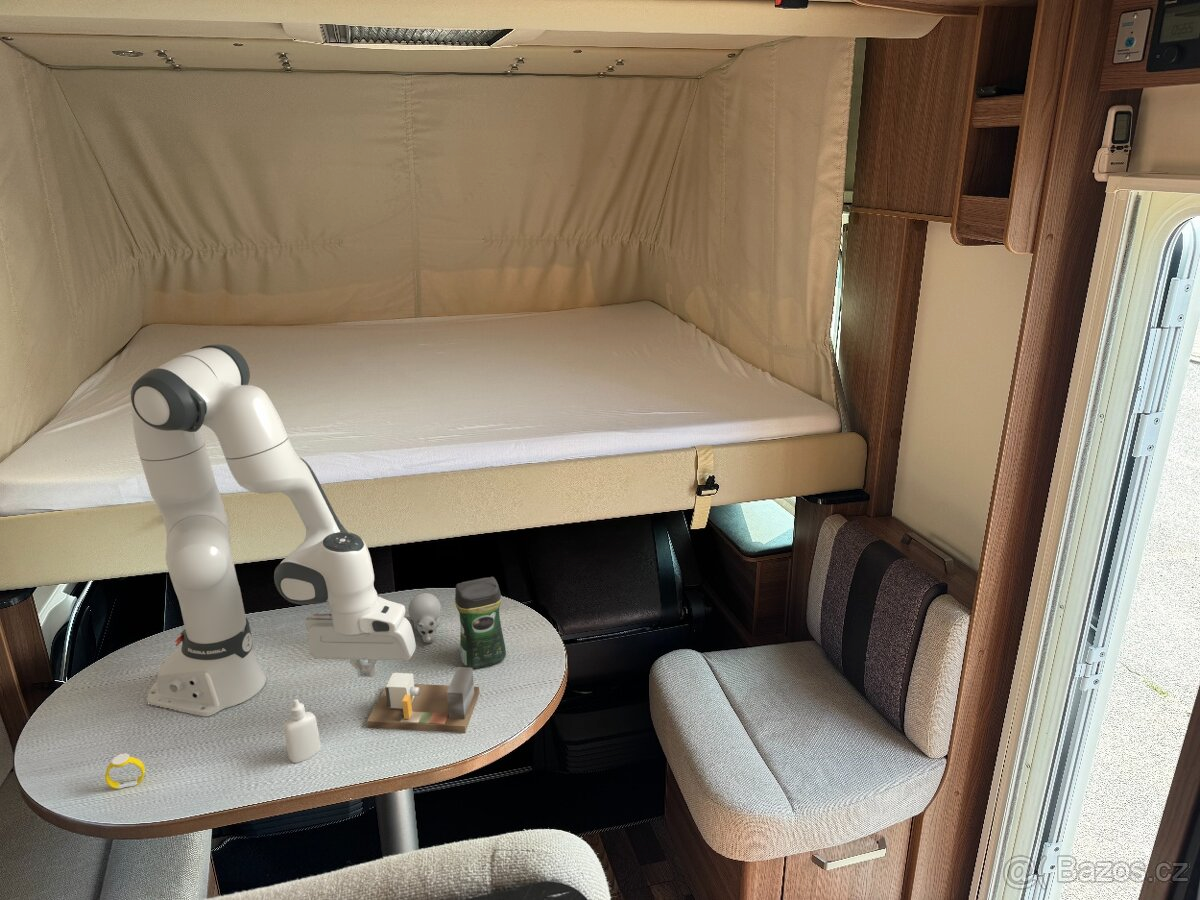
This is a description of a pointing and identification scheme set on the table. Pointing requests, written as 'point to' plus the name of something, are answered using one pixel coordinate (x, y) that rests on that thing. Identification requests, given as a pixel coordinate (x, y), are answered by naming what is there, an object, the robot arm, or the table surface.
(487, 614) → the coffee jar
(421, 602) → the round bodied animal figurine
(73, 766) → the table surface
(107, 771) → the watch
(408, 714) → the block
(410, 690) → the cream block with knob
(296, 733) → the eye dropper bottle
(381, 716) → the bench
